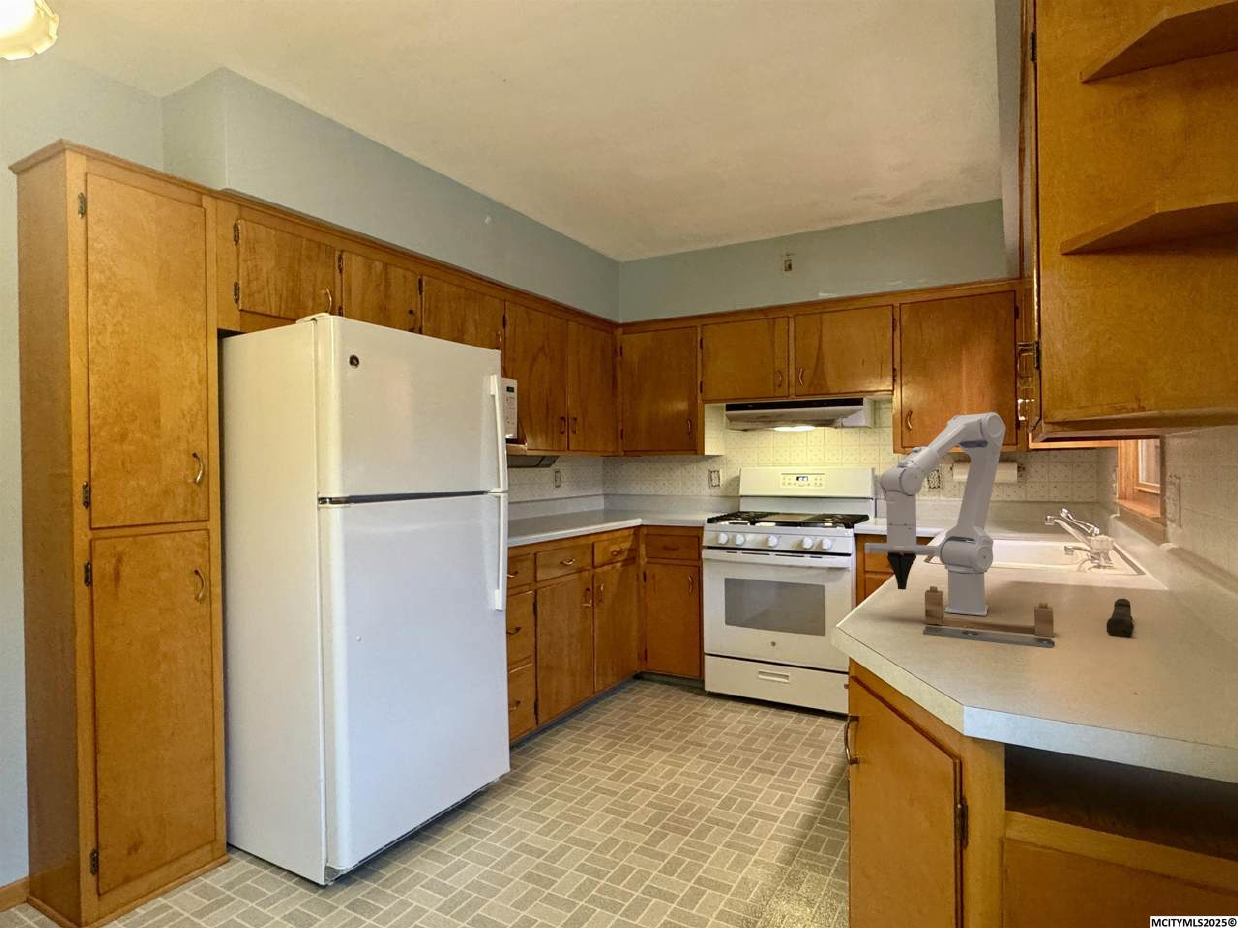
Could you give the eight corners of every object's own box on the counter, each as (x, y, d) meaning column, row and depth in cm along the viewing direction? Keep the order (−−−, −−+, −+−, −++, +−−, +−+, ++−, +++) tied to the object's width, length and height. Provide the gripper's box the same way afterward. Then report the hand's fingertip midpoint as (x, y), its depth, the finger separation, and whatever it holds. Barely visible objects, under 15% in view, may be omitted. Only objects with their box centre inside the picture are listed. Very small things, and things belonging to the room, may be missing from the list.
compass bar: (930, 620, 138) (929, 592, 138) (1052, 632, 127) (1052, 601, 127) (928, 624, 135) (927, 595, 135) (1053, 637, 124) (1053, 605, 124)
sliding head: (927, 618, 139) (926, 584, 139) (943, 620, 137) (942, 585, 137) (925, 623, 135) (924, 587, 135) (941, 624, 134) (940, 589, 134)
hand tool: (1133, 640, 122) (1133, 615, 122) (1106, 636, 125) (1106, 612, 125) (1140, 621, 136) (1140, 598, 136) (1116, 618, 139) (1116, 596, 139)
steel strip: (925, 628, 132) (925, 625, 132) (1054, 642, 121) (1054, 638, 121) (923, 634, 128) (923, 630, 128) (1055, 648, 117) (1055, 644, 117)
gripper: (861, 524, 140) (862, 588, 140) (937, 527, 132) (938, 594, 132) (867, 521, 146) (868, 583, 146) (940, 524, 138) (941, 589, 138)
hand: (902, 588), depth 139 cm, fingers closed
